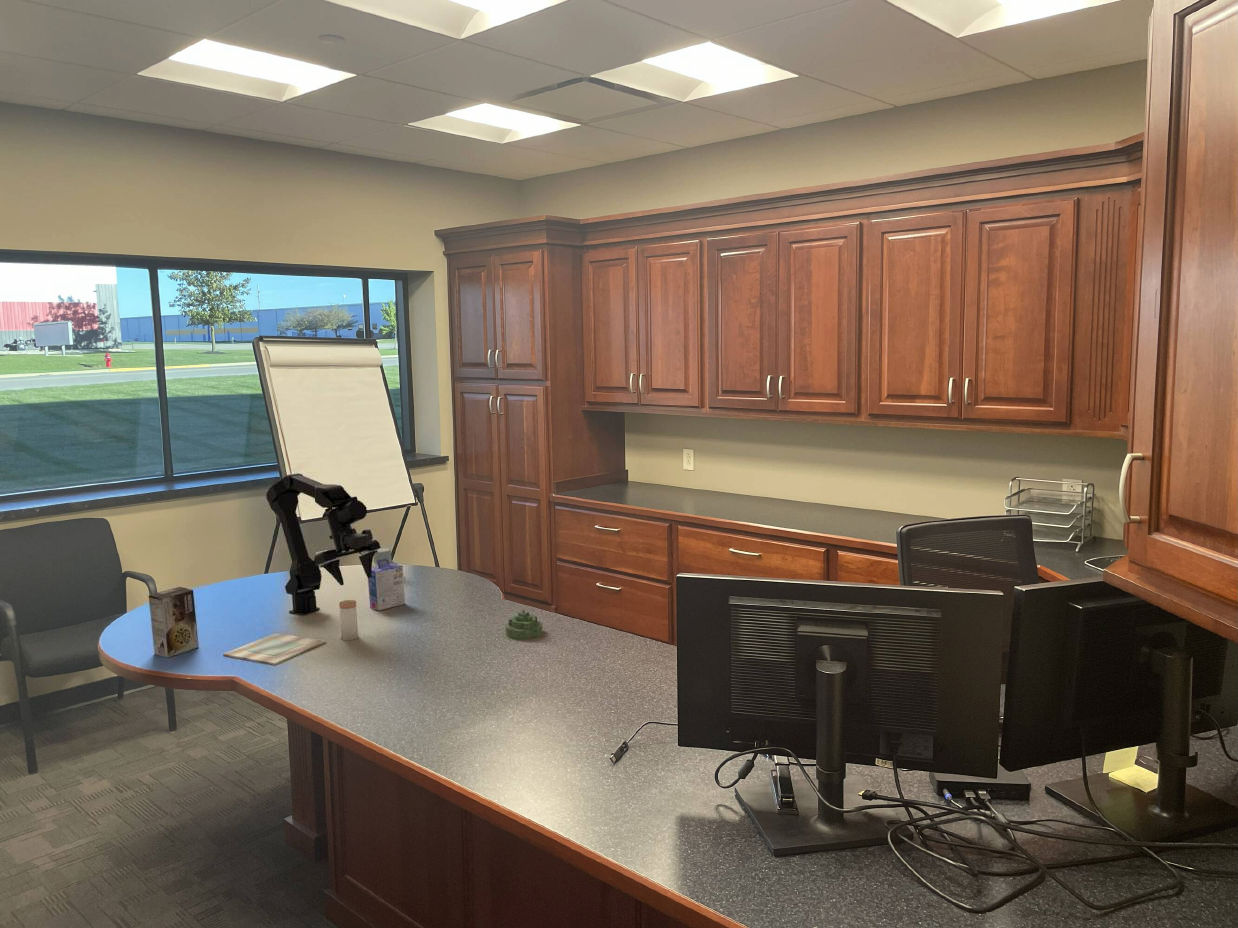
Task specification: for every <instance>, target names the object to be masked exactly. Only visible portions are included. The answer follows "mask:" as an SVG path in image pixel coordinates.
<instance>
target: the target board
mask: <svg viewBox="0 0 1238 928" xmlns="http://www.w3.org/2000/svg"><path fill="white" fill-rule="evenodd" d="M326 642H327V641H326V640H321V639H317V638H309V637H302V636H296V635H290V634H283V633H278V632H277V633H276V632H275V633H272V634H270V635H267V636H265V637H262V638H260V639H258V640H256V641H252V642H250V643H247V644H244V645H243V646H240V647H237V648H234V649H233V650H229V651H226V652H224V653H223V654H222V655H223V657H229V658H234V659H238V660H239V659H240V660H246V661H250V662H256V663H262V664H267V665H272V666H276V665H278V664H281V663H282V662H285V661H287V660H290V659H293V658H294V657H297V656H298V655H302V654H304V653H306V652H308V651H310V650H313V649H316V648H317V647H320V646H322V645H325V644H326Z"/></svg>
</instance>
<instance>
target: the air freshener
mask: <svg viewBox="0 0 1238 928" xmlns="http://www.w3.org/2000/svg"><path fill="white" fill-rule="evenodd" d="M375 551H376V550H375ZM386 558H387V559H388V562H389V564H398V563H397V562H396V561H394V560H392V549H390V548H388V547H385V548H384V547H381V548H380V549H378V552H377V553H375V555H374V557H373V561H372V569H373V568H377V567H378V563H377V560H381V559H386ZM385 563H387V562H386V561H382V562H380V564H385Z"/></svg>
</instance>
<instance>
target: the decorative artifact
mask: <svg viewBox="0 0 1238 928" xmlns="http://www.w3.org/2000/svg"><path fill="white" fill-rule="evenodd" d="M542 635H543V623H542V622H541V621H540V620H538V616H537V615H534V614H530V613H529V612H528V611H525V609H524V608H523V609H522V611H519V612H518V614H517V615H514V616H512V617H510V618H508V623H506V624H505V636H506V637H507V638H509V639H512V640H524V641H525V640H530V639H531V640H533V639H535V638H539V637H540V636H542Z"/></svg>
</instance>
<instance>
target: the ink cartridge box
mask: <svg viewBox="0 0 1238 928" xmlns="http://www.w3.org/2000/svg"><path fill="white" fill-rule="evenodd" d="M382 561H386V562H387V563H385V564H380V562H382ZM377 563H378V567H377V568H373V569H372V571H371V578H368V577H367V585H368V596H369V597H368V598H369V608H370V609H372V610H375V611H383V610H386V609H390V608H394V607H398V606H402V605H405V604H406V597H405V596H406V594H405V582H404V578H405V577H404V566H403V565H400V564H398V563H397V564H389V562H388V559H387V558H386V559H381V560H377Z"/></svg>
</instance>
